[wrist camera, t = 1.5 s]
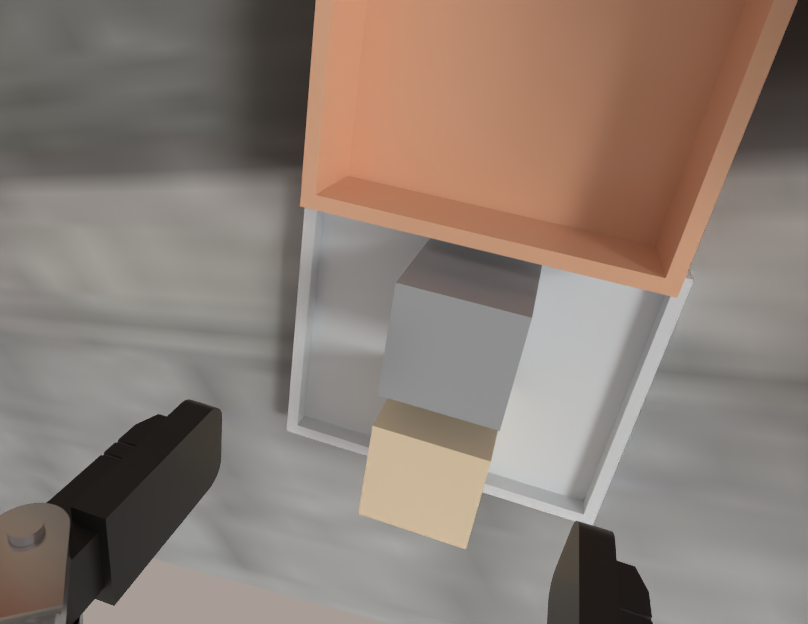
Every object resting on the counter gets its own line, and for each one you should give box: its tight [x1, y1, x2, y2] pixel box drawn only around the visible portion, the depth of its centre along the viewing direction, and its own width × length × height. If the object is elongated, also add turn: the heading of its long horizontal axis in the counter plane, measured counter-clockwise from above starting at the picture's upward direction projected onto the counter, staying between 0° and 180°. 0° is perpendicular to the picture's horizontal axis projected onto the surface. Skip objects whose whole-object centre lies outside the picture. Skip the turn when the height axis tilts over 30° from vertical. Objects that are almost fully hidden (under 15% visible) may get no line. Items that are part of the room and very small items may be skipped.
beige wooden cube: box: [358, 398, 498, 549], centre depth 23 cm, size 4×4×5 cm
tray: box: [287, 208, 694, 526], centre depth 24 cm, size 14×12×1 cm
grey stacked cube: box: [378, 238, 542, 431], centre depth 21 cm, size 4×4×5 cm
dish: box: [300, 0, 798, 298], centre depth 18 cm, size 12×11×4 cm
